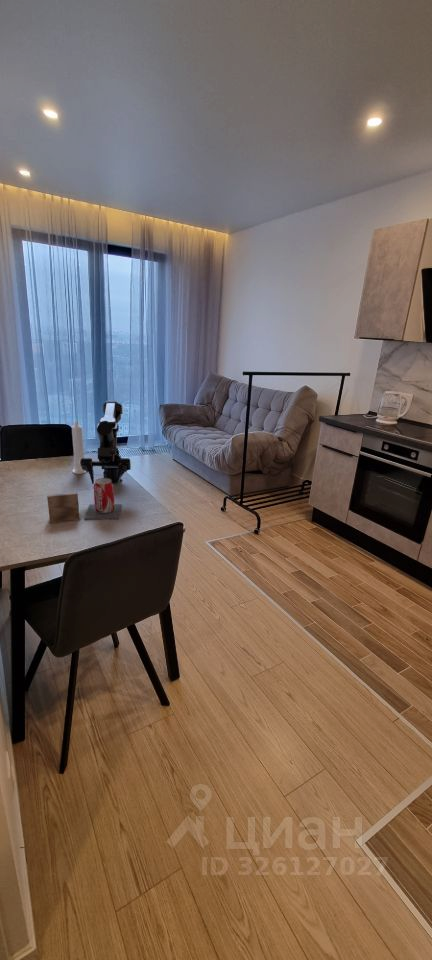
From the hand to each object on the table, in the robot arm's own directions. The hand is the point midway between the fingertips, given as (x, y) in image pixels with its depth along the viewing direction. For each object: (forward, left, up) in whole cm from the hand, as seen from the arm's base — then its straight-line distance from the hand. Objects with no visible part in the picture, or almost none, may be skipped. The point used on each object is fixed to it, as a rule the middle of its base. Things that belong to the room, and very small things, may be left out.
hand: (105, 483), depth 151 cm
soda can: (+4, +6, -8) cm, 11 cm away
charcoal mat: (+5, +6, -8) cm, 11 cm away
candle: (-11, -40, -9) cm, 43 cm away
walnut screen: (+18, +2, -8) cm, 20 cm away
